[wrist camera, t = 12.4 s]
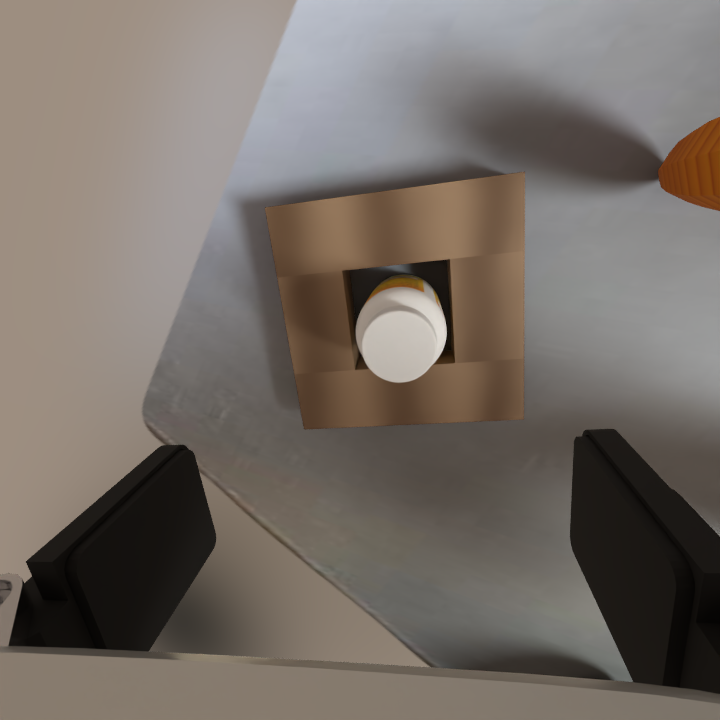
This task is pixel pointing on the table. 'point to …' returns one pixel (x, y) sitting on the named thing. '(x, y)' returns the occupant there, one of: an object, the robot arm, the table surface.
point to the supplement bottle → (401, 328)
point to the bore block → (394, 247)
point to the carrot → (695, 167)
